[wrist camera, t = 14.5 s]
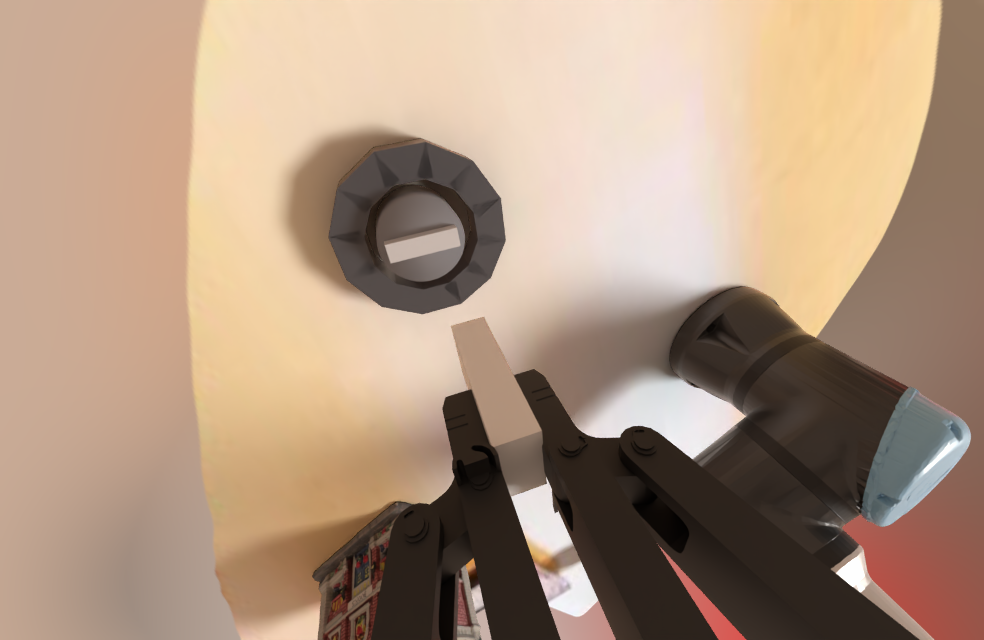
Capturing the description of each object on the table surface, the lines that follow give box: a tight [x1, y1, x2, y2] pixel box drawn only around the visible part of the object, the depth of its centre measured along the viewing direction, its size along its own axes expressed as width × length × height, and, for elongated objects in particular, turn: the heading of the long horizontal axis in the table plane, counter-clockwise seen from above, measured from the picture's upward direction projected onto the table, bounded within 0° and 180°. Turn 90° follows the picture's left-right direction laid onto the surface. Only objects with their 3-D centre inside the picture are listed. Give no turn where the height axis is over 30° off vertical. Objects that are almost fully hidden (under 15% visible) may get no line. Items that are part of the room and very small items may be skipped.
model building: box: [312, 502, 481, 640], centre depth 44 cm, size 19×14×20 cm
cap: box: [375, 185, 465, 282], centre depth 27 cm, size 6×6×5 cm
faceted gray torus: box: [329, 138, 506, 314], centre depth 28 cm, size 13×13×2 cm
